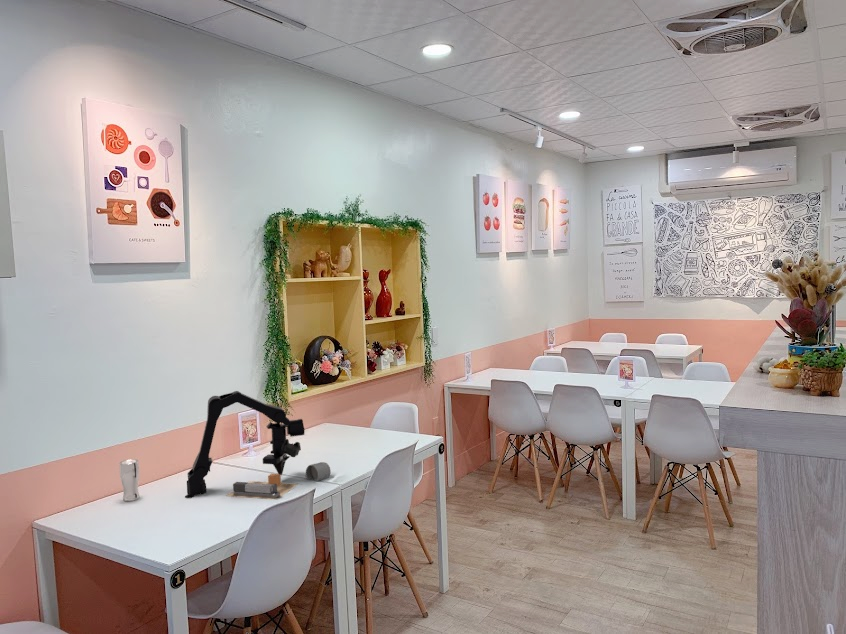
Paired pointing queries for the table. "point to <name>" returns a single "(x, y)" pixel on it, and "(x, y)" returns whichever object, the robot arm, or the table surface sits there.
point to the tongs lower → (256, 494)
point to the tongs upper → (252, 487)
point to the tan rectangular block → (274, 479)
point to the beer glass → (130, 479)
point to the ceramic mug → (318, 471)
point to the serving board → (281, 488)
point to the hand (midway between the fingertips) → (280, 474)
